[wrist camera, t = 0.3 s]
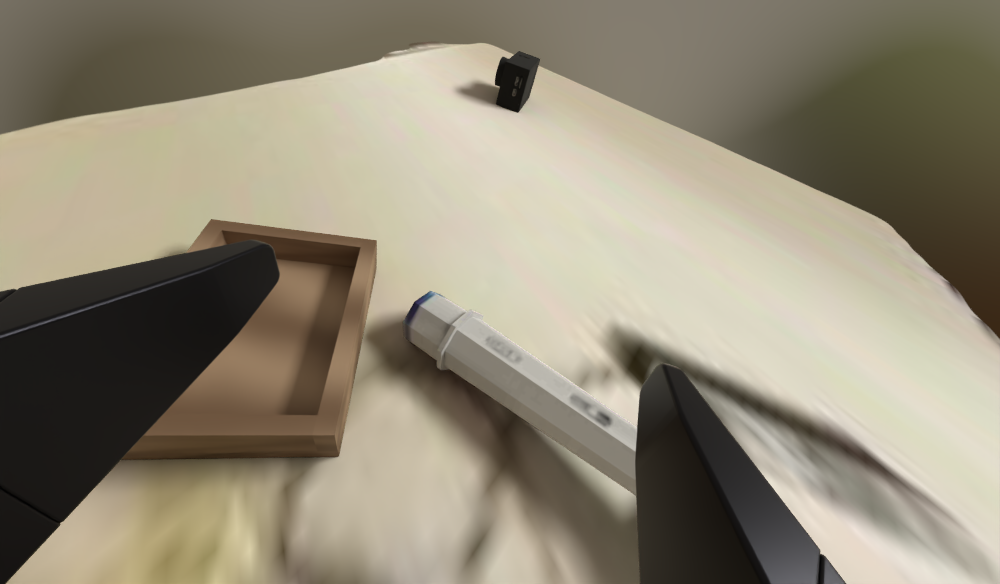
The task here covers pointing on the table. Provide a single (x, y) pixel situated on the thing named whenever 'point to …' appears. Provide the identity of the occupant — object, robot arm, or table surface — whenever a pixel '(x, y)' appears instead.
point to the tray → (278, 356)
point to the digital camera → (515, 80)
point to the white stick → (524, 385)
